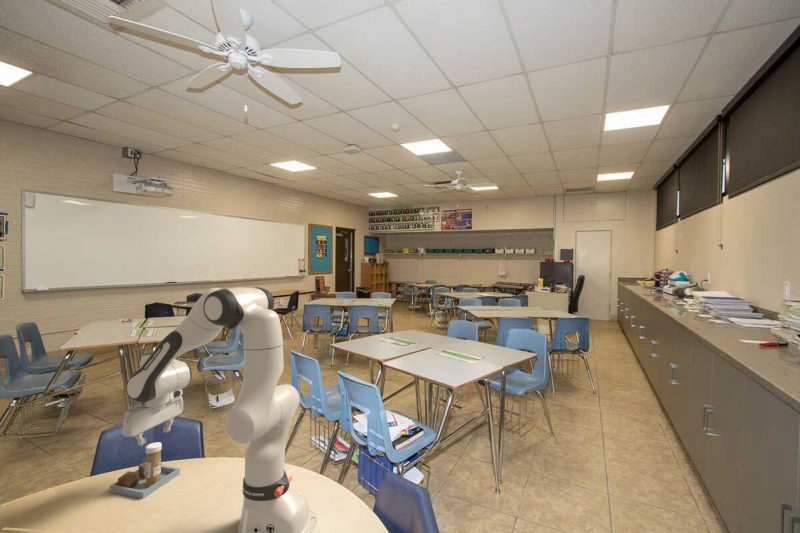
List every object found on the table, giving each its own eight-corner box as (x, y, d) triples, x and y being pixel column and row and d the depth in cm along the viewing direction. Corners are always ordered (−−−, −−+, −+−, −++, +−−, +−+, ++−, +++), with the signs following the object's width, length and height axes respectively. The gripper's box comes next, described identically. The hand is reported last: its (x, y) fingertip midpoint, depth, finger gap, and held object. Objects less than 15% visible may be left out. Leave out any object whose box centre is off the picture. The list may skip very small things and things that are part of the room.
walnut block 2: (156, 473, 126) (156, 462, 126) (144, 479, 123) (144, 468, 123) (150, 470, 128) (150, 459, 128) (138, 476, 125) (138, 465, 125)
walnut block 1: (138, 483, 121) (138, 471, 121) (129, 490, 117) (129, 478, 117) (127, 482, 121) (127, 471, 121) (117, 490, 117) (117, 478, 117)
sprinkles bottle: (160, 484, 120) (161, 445, 120) (144, 489, 117) (145, 449, 117) (161, 478, 124) (161, 440, 124) (145, 482, 121) (145, 443, 121)
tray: (179, 475, 126) (179, 468, 126) (143, 500, 113) (143, 492, 113) (148, 469, 130) (149, 463, 130) (109, 493, 116) (109, 485, 116)
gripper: (132, 410, 110) (132, 454, 110) (186, 388, 130) (186, 425, 130) (117, 408, 111) (116, 451, 111) (172, 387, 131) (172, 424, 131)
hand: (154, 437), depth 121 cm, fingers open, 8 cm apart
